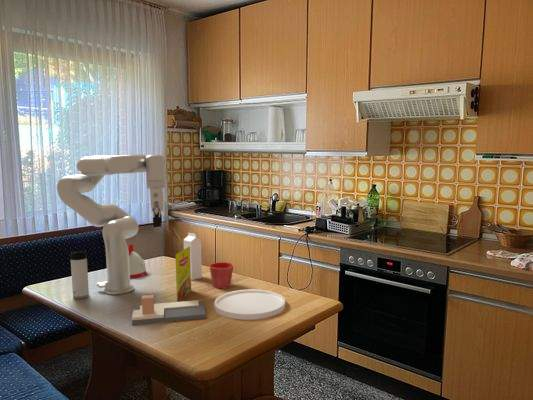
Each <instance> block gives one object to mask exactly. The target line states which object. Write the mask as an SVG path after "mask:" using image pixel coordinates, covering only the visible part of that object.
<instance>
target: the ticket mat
mask: <svg viewBox="0 0 533 400" xmlns="http://www.w3.org/2000/svg"><path fill="white" fill-rule="evenodd" d="M134 306H135V305H134ZM154 308H164V318H153V319H142V320H132V319H131V325H132V326H134V325H135V326H137V325H147V324H148V325H149V324H158V323H167V322H168V323H169V322H178V321H179V322H180V321H188V320H200V319H206V318H207V315H206V308H205V303H204V300H199V299H197V300H196V299H195V300H187V301H184V300H183V301H178V302H177V301H172V302H162V303H154ZM141 309H142V304H140V305H136V306H135V307H134V310H141Z"/></svg>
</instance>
